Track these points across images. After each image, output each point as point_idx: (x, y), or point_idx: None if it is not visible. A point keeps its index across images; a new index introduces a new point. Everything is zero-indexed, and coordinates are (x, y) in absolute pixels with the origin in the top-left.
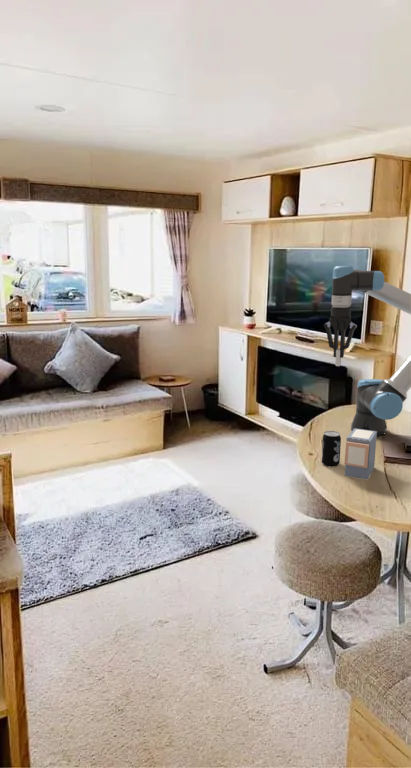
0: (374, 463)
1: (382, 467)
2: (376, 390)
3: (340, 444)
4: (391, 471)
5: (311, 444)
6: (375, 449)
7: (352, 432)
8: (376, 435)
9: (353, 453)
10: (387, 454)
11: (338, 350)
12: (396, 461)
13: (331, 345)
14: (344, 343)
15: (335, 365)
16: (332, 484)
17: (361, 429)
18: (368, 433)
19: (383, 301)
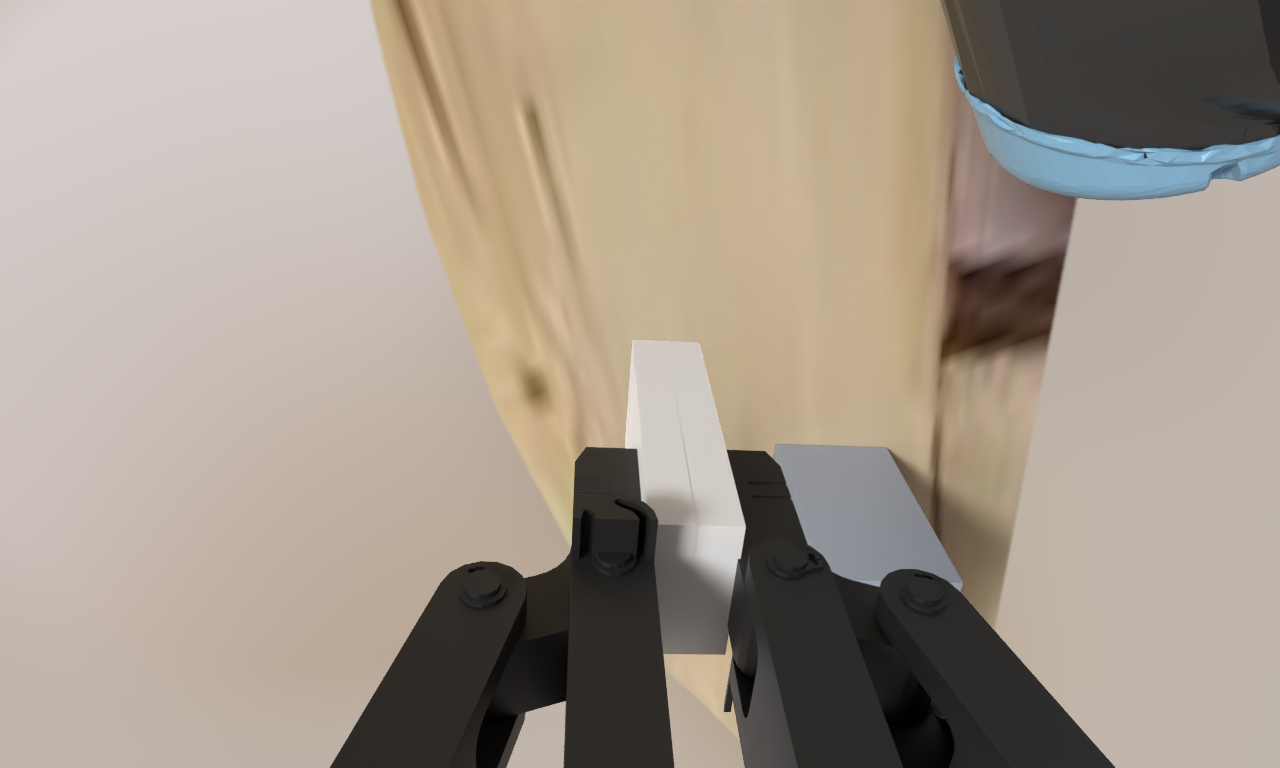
0: (894, 463)
1: (928, 426)
2: (1117, 32)
3: None
4: (967, 456)
5: (490, 229)
6: (920, 511)
7: None
8: (952, 566)
9: None
10: (973, 225)
11: (690, 646)
12: (1011, 318)
13: (507, 726)
14: (855, 678)
15: (625, 445)
16: (715, 660)
17: (869, 582)
18: None
19: None
